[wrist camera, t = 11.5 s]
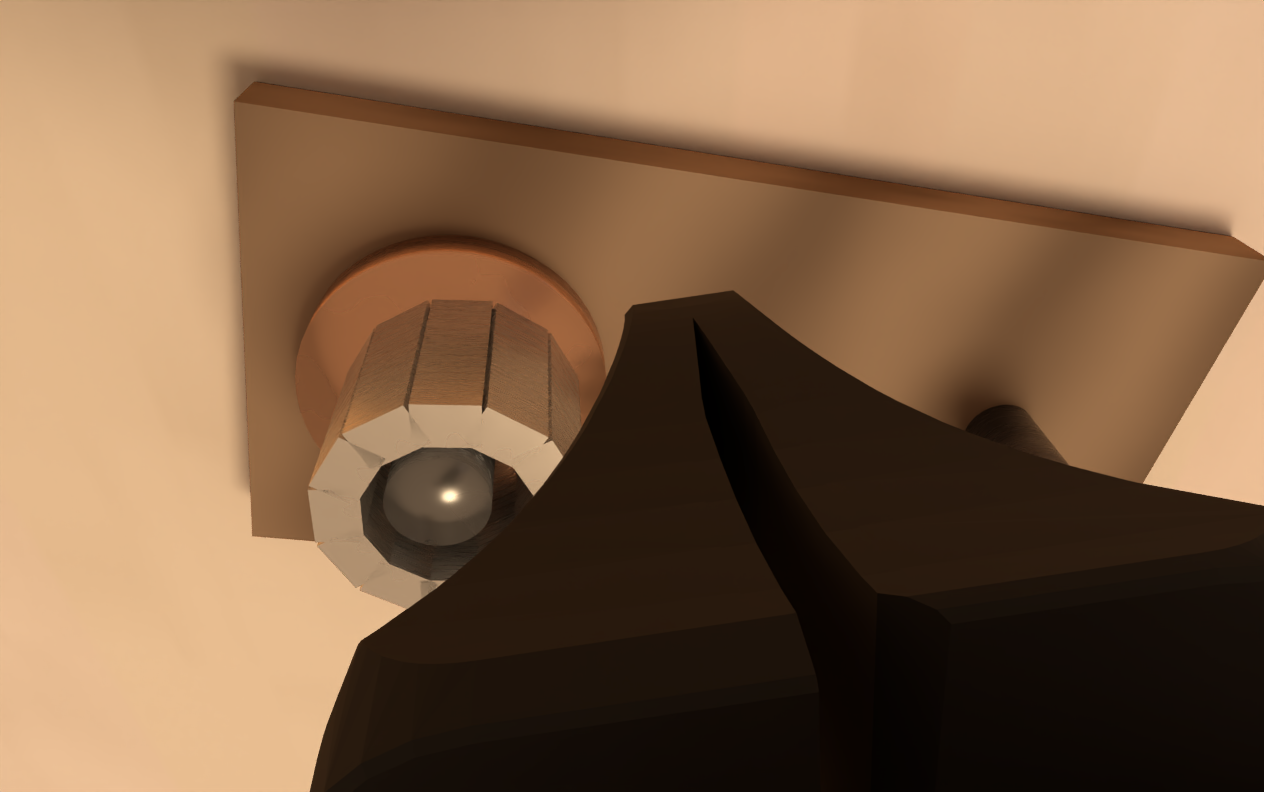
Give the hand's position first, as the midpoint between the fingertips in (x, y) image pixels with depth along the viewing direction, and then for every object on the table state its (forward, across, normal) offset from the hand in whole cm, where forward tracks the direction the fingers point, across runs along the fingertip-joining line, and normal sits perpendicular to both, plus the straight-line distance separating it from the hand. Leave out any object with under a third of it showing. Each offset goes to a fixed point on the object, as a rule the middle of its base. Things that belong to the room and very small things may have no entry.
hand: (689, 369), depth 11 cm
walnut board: (+10, -2, +7) cm, 13 cm away
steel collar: (+8, +4, +5) cm, 10 cm away
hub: (+9, +5, +5) cm, 11 cm away
